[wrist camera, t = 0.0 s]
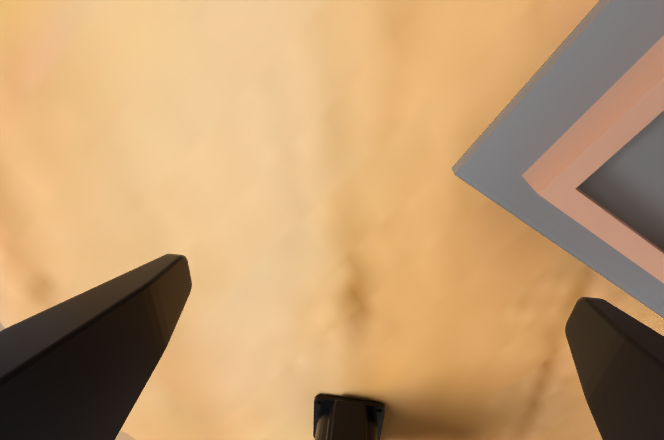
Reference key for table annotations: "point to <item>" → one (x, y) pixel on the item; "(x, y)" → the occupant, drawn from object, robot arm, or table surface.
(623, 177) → the awning stand
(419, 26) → the table surface
